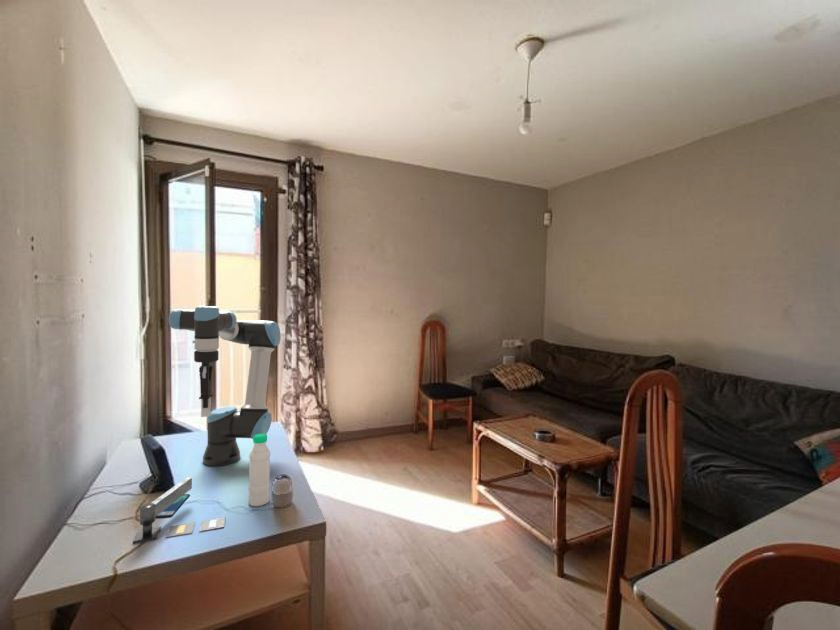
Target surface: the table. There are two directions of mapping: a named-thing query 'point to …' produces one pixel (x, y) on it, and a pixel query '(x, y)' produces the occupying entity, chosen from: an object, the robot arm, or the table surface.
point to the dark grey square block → (147, 534)
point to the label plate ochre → (180, 529)
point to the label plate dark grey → (212, 524)
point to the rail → (163, 501)
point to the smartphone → (173, 507)
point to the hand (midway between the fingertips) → (205, 416)
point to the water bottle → (259, 471)
